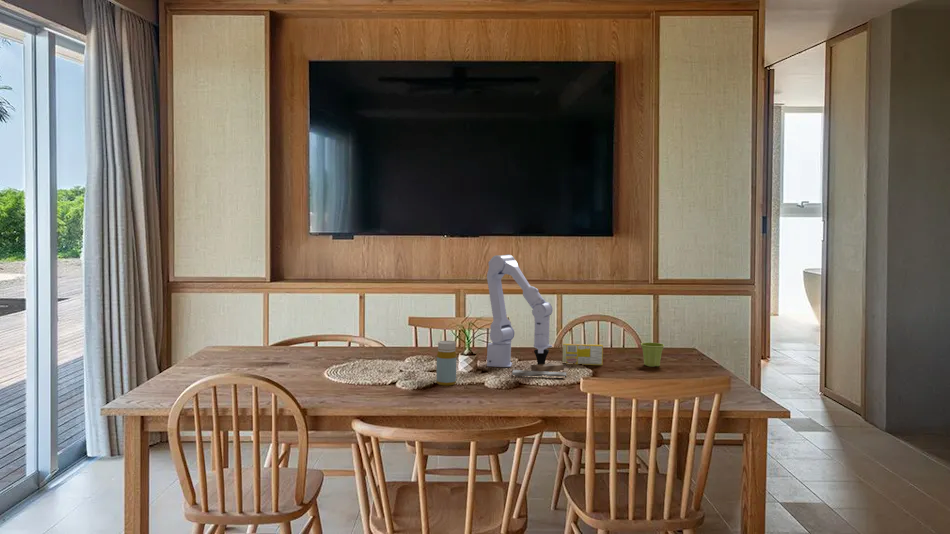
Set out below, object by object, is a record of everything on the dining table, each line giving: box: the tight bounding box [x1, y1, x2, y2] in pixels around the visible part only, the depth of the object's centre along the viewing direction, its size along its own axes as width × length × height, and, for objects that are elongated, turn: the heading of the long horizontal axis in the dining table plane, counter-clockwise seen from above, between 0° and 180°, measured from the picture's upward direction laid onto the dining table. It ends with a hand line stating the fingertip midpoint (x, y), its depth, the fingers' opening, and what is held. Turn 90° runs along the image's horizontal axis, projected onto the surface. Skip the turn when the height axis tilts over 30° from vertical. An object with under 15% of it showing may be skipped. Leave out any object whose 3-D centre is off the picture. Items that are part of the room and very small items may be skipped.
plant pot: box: [640, 342, 665, 367], centre depth 323 cm, size 9×9×9 cm
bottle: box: [435, 340, 457, 387], centre depth 283 cm, size 7×7×15 cm
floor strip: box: [511, 369, 567, 377], centre depth 299 cm, size 20×6×2 cm, turn 82°
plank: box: [530, 362, 565, 372], centre depth 306 cm, size 12×4×3 cm, turn 113°
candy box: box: [562, 343, 604, 366], centre depth 323 cm, size 16×2×8 cm, turn 84°
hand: (541, 368), depth 308 cm, fingers closed, pressing on plank
